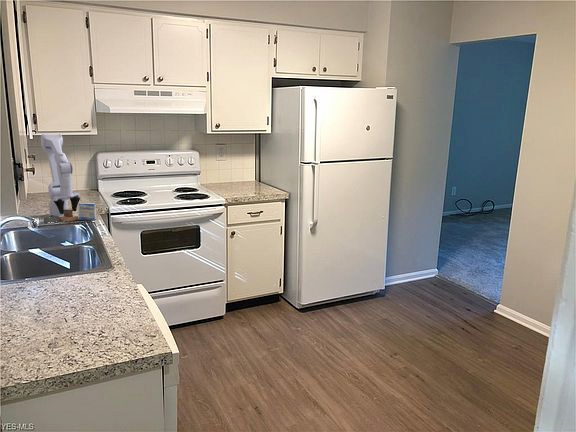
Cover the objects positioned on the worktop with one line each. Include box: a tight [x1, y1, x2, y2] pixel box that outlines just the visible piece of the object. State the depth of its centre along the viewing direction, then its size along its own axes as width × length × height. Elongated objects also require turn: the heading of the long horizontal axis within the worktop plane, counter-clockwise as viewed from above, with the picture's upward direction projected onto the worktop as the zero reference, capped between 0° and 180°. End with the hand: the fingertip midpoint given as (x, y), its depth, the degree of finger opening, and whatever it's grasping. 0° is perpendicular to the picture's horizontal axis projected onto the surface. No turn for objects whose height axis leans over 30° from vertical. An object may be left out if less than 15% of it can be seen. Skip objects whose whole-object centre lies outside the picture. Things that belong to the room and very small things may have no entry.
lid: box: [59, 208, 79, 221], centre depth 236 cm, size 6×6×5 cm
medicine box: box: [78, 202, 97, 221], centre depth 238 cm, size 8×4×9 cm, turn 105°
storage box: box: [42, 214, 60, 224], centre depth 232 cm, size 5×5×3 cm
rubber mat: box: [59, 218, 80, 223], centre depth 237 cm, size 8×8×1 cm
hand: (68, 212), depth 236 cm, fingers open, 7 cm apart
